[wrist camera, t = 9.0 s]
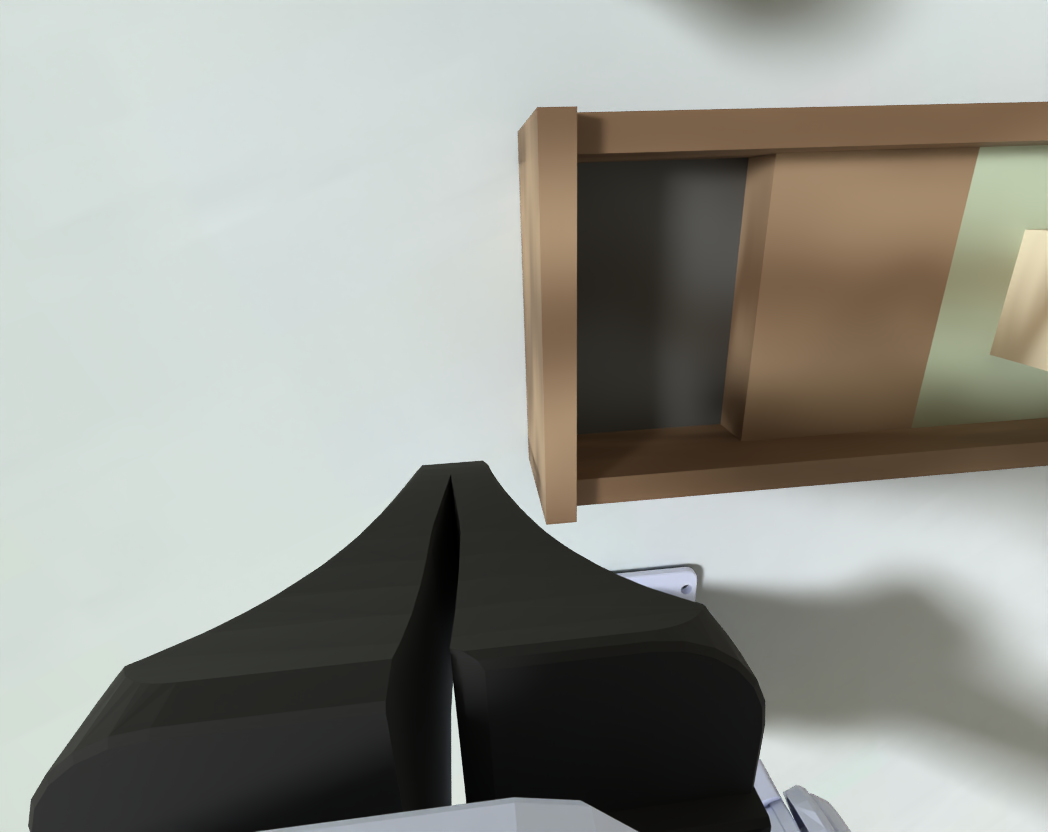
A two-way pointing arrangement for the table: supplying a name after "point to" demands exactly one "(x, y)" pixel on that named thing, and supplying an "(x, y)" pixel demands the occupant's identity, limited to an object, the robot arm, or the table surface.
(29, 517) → the table surface
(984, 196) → the wooden storage tray
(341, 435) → the table surface
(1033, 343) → the block
